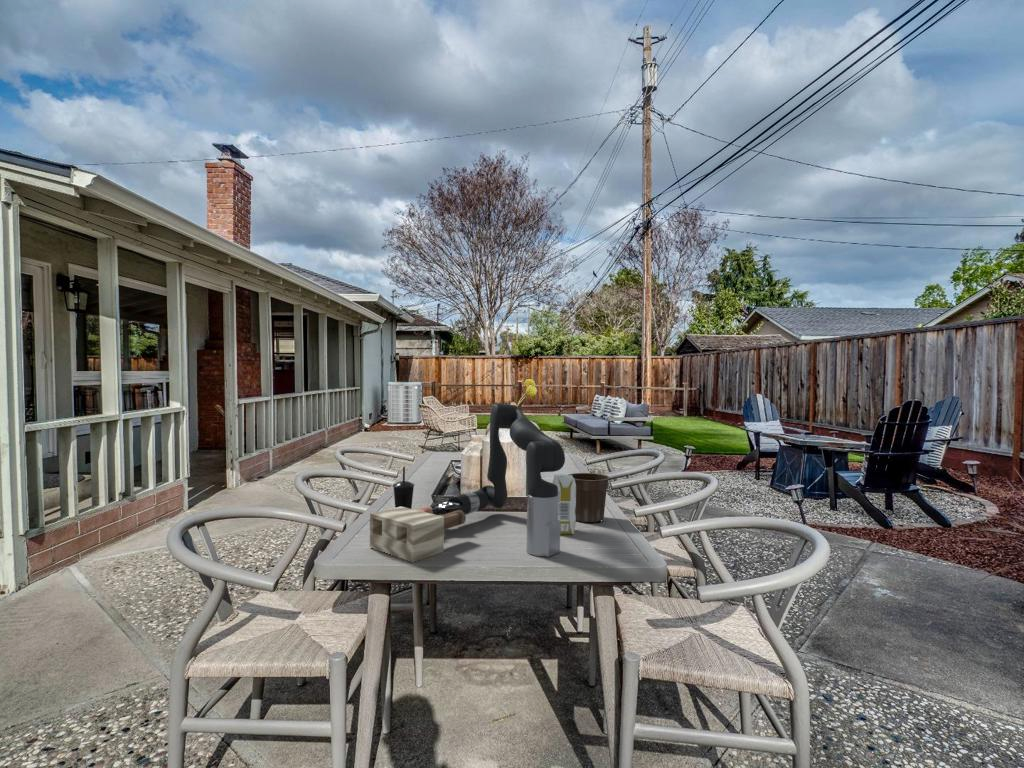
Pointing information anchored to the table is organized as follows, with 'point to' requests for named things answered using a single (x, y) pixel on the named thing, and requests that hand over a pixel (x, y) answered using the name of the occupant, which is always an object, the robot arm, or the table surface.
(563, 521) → the juice carton
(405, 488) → the drinking cup
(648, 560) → the table surface
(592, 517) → the plant pot
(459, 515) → the walnut plug
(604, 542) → the table surface
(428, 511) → the terracotta plug
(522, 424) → the robot arm
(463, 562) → the table surface
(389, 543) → the socket block
